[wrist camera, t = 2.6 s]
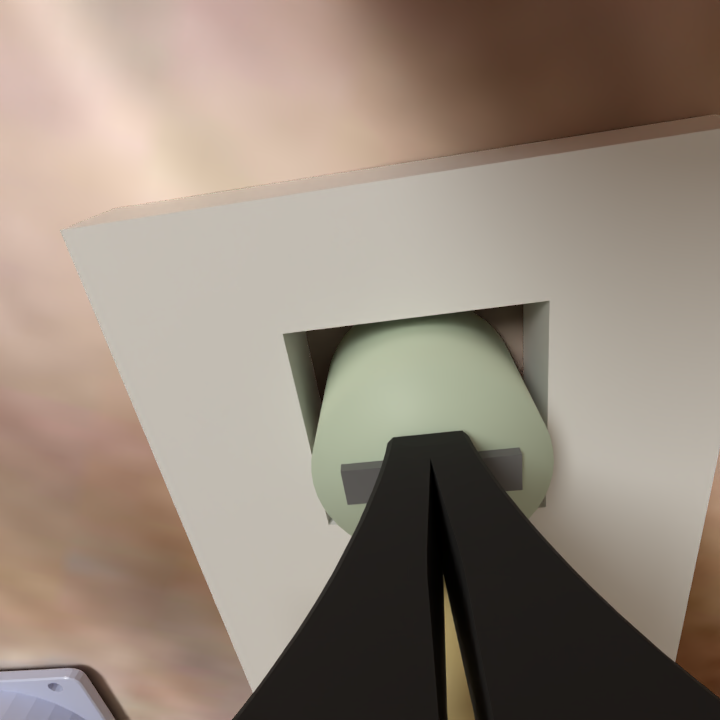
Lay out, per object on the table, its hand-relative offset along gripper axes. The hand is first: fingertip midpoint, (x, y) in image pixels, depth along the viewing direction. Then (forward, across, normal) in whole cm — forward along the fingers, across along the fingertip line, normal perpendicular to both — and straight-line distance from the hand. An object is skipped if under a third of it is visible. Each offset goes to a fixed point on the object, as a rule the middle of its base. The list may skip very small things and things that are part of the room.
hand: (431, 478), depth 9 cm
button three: (+3, 0, 0) cm, 3 cm away
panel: (+4, 0, +7) cm, 8 cm away
